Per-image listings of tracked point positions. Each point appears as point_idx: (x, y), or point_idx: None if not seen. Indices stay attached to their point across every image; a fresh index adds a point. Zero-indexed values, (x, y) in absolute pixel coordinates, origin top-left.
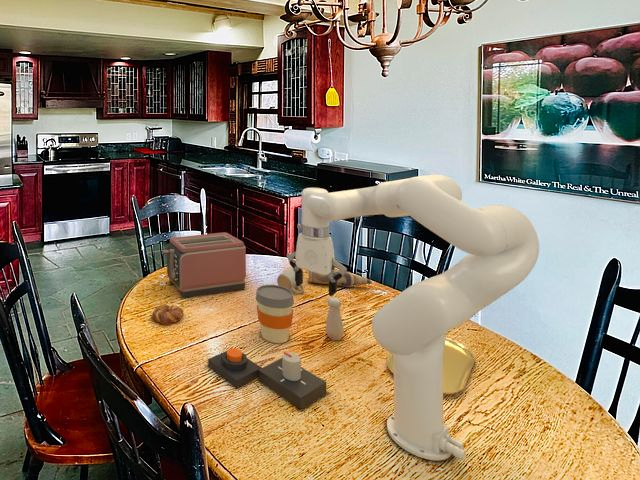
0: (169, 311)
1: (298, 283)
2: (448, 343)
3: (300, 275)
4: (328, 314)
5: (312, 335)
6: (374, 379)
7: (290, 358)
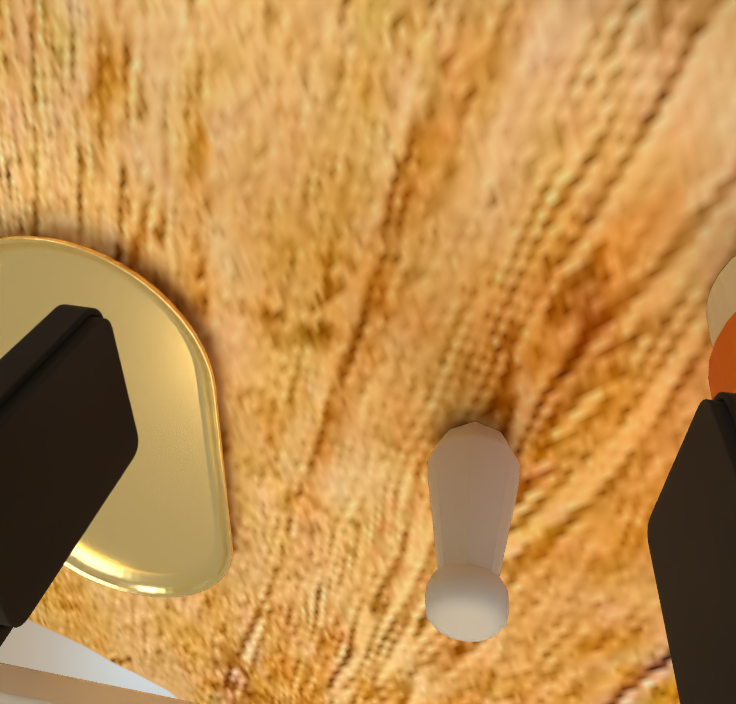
0: None
1: (718, 430)
2: (123, 571)
3: (721, 627)
4: (499, 526)
5: (580, 410)
6: (208, 209)
7: None
